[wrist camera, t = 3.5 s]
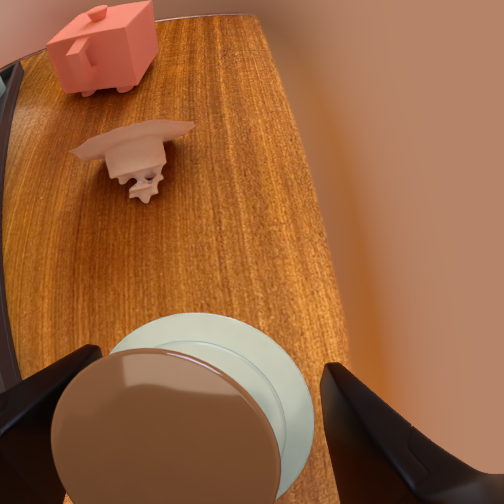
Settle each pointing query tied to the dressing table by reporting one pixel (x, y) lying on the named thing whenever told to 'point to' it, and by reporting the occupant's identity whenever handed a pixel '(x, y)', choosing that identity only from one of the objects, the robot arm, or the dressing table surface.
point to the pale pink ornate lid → (135, 152)
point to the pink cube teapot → (105, 48)
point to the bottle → (184, 418)
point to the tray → (3, 354)
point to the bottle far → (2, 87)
